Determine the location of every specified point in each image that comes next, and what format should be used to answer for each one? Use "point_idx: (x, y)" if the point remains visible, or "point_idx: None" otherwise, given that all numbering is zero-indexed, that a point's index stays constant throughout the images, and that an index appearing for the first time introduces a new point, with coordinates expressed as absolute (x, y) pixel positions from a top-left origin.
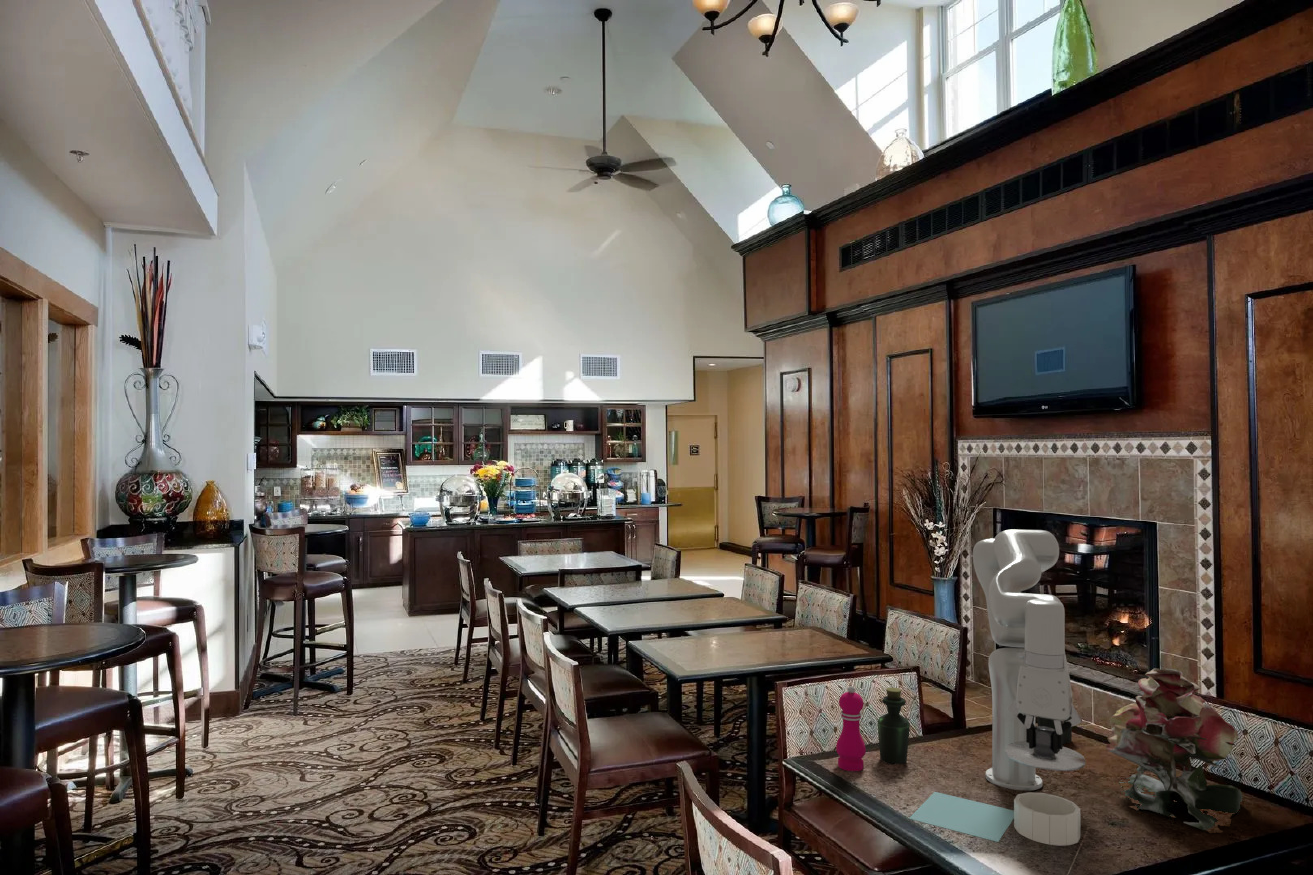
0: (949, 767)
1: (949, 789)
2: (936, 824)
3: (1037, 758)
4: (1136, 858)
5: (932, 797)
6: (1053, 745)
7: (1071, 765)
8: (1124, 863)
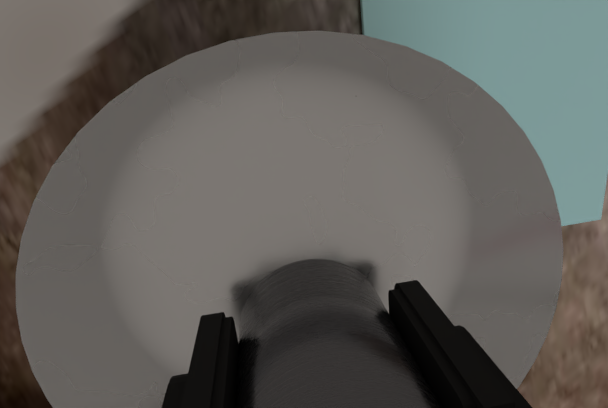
0: (590, 394)
1: (566, 271)
2: None
3: (314, 181)
4: (20, 202)
5: (599, 174)
6: (224, 352)
7: (50, 218)
8: (25, 140)
